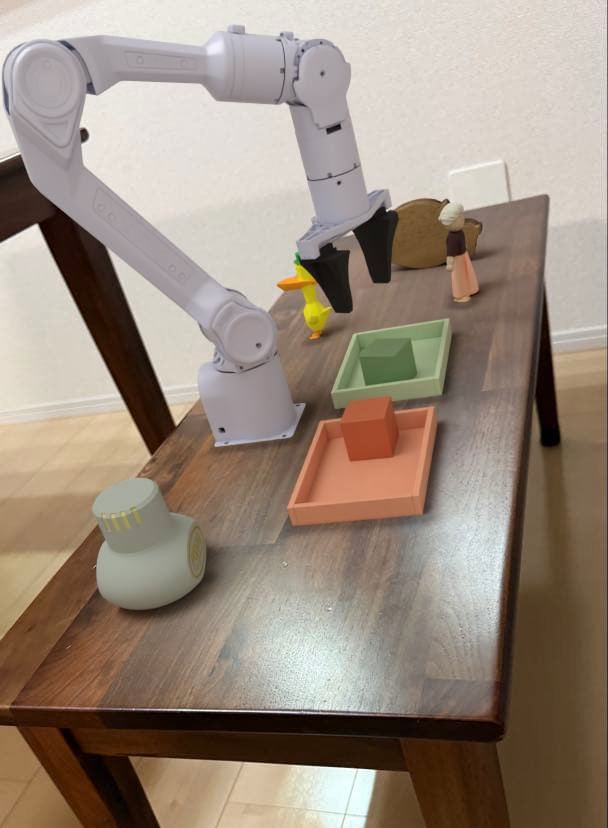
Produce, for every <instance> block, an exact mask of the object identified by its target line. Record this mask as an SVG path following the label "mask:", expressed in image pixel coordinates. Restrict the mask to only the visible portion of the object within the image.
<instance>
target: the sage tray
mask: <svg viewBox="0 0 608 828" xmlns="http://www.w3.org/2000/svg"><path fill="white" fill-rule="evenodd" d="M451 325H452V324H451V319H450V318H449V317H448V318H441V319H435V320H428V321H422V322H416V323H410V324H405V325H404V324H403V325H398V326H392V327H385V328H380V329H373V330H367V331H360V332H355V333H352V337H351V338H350V341H349V344H348V347H347V350H346V352H345V355H344V357H343V359H342V362H341V365H340V368H339V370H338V373H337V376H336V378H335V381H334V384H333V386H332V389H331V392H330V396H331V400H332V404H333V407H334V410H339V409H345V408H346V406H347V403H348V401H355V400H363V399H371V398H379V397H387V396H391V399H392V402H397V401H398V402H399V401H405V400H414V399H421V398H429V397H437V396H442V395H443V392H444V386H445V378H446V372H447V366H448V360H449V354H450V348H451V342H452V335H453V331H452V326H451ZM384 338H411V343H412V348H413V353H414V358H415V364H416V369H417V375H416V376H415V377H414V378H413V379H411V380H404V381H397V382H390V383H383V384H376V385H369V386H365V381H364V377H363V373H362V368H361V364H360V360H359V355H360V354H361V353H362V352H363V351H364V350H365V349H366V348H367V347H368V346H369V345H370V344H371V343H372V342H373V341H374V340H375V339H384Z"/></svg>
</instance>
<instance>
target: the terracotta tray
mask: <svg viewBox="0 0 608 828" xmlns="http://www.w3.org/2000/svg"><path fill="white" fill-rule="evenodd" d="M394 413H395V417H396V422H397V427H398V431H399V436H398V440H397V444H396V447H395V451H394V455H393V457H389V458H379V459H369V460H359V461H350V460H349V457H348V453H347V449H346V445H345V441H344V437H343V433H342V429H341V426H340V421H341V419H342V417H340V418H332V419H326V420H325V419H324V420H320V421H319V423H318V425H317V428H316V431H315V433H314V436H313V439H312V440H311V441H312V442H311V444H310V447H309V449H308V452H307V455H306V457H305V459H304V462H303V465H302V467H301V469H300V473H299V476H298V478H297V480H296V483H295V485H294V488H293V490H292V494H291V496H290V499H289V502H288V504H287V507H286V510H287V513H288V517H289V520H290V522H291V526H292V527H297V526H309V525H318V524H319V525H321V524H331V523H332V524H333V523H343V522H353V521H365V520H377V519H387V518H397V517H410V516H421V515H423V514H424V509H425V503H426V496H427V491H428V485H429V477H430V471H431V467H432V466H431V465H432V459H433V453H434V447H435V440H436V434H437V428H438V420H437V414H436V409H435V406H434V405H433V406H432V405H431V406H427V407H425V406H424V407H417V408H410V409H402V410H394Z"/></svg>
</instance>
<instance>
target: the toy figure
mask: <svg viewBox="0 0 608 828" xmlns="http://www.w3.org/2000/svg"><path fill="white" fill-rule="evenodd" d="M298 255H299V252H298V251H297V252H294V256H295V259H294V260H293V264H294V268H295V272H296V276H291V277H286V278H284V279H282V280H280V281H279V282H277V284H276V286H277V288H279V289H280V290H282V291H283V292H288V291H295V290H301V293H302V295H303V297H304V300H305V304H304V305H305V306H304V308H303V310H302V313H303V317H304V320H305V324H306V326H307V327H308V328H310V329H311V330H312V331H313V332H314V333H312V334H311V336H310V337H309V340H314V339H318V338H320V337H321V336H320V335H322V334H323V333H322V330H323V329H324V328H325V327H326V324H327V321H328V317H329V315H330V312H331V310H332V309H333V308H332V306H328V307H325V306H324V305H323V304H322V303H321V302H320V301H319V300H318V299H317V292H316V285H317V284H318V283H317V282H316V280H315V279H314V278H313V277H312V276H311V275H310V273H309V272H308V271H307V270H306V269H304V268H303V267H302V266H301V265H300V262H299V259H298Z"/></svg>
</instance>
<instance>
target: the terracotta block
mask: <svg viewBox="0 0 608 828" xmlns="http://www.w3.org/2000/svg"><path fill="white" fill-rule="evenodd" d="M394 411H395V408H394V403H393V401H392V399H391V396H387V397H379V398H371V399H363V400H355V401H348V403H347V406H346V408H344V411H343V413H342V417H341V418H342V419H341V421H340V426H341V429H342V433H343V437H344V441H345V445H346V449H347V453H348V457H349V460H350V461H359V460H369V459H379V458H389V457H393V455H394V451H395V447H396V444H397V440H398V436H399V431H398V427H397V422H396V417H395V413H394Z"/></svg>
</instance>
